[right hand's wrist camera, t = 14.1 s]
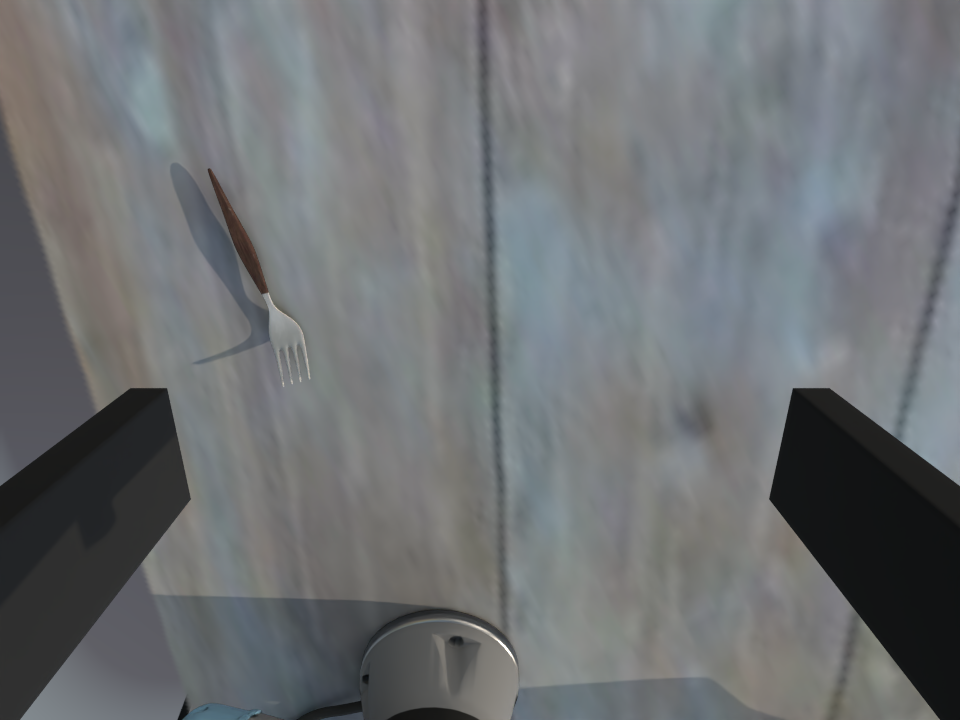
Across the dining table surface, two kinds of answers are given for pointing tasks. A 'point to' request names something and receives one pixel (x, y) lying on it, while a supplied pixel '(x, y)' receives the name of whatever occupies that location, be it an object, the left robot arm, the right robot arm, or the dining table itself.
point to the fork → (263, 290)
